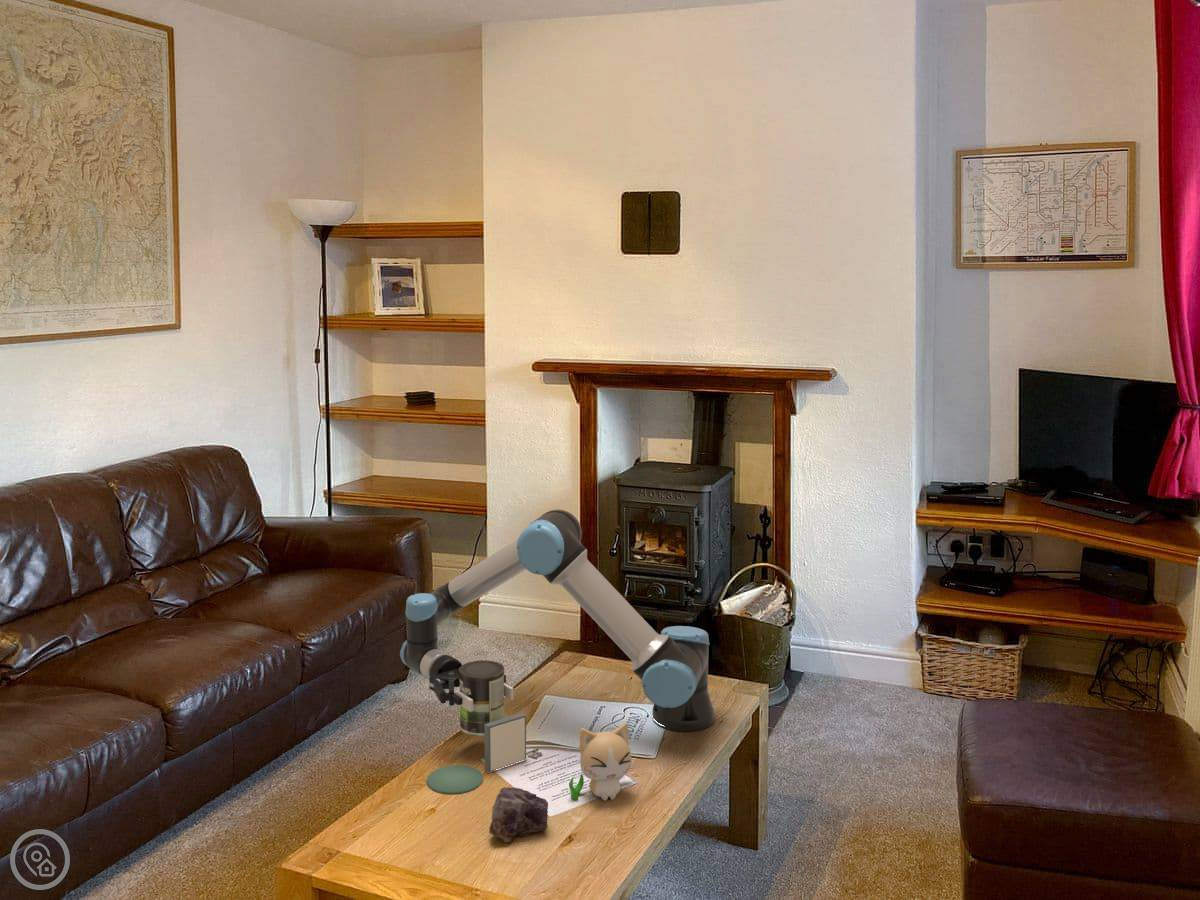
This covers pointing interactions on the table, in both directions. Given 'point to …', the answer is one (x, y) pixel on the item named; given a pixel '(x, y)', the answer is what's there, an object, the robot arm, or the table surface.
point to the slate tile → (505, 742)
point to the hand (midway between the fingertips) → (492, 699)
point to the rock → (518, 814)
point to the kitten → (603, 761)
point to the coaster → (454, 779)
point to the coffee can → (481, 695)
